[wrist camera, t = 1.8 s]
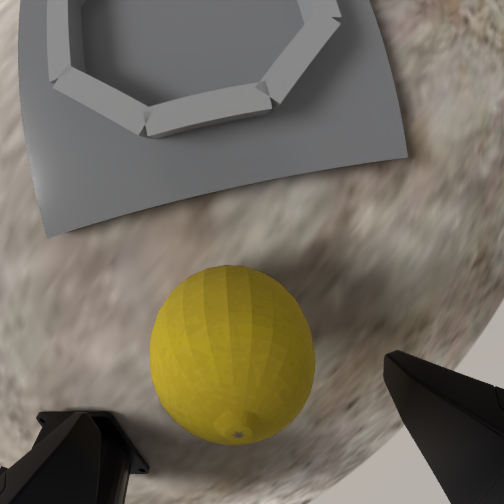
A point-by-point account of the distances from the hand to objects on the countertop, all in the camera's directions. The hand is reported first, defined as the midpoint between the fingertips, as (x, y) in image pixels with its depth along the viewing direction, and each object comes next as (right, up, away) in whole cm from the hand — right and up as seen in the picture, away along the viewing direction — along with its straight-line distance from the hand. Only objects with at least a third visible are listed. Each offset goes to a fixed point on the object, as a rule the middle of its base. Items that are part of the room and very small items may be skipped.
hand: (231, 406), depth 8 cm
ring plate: (-2, +14, +3) cm, 15 cm away
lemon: (-1, +2, +7) cm, 7 cm away
